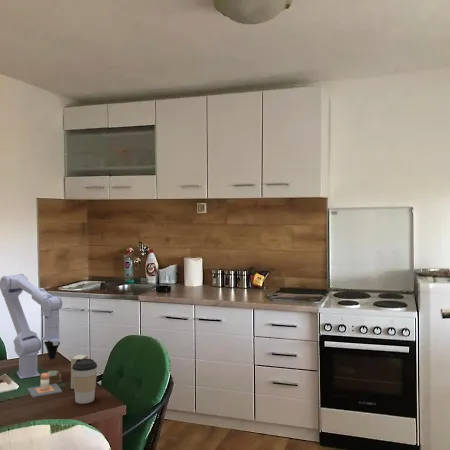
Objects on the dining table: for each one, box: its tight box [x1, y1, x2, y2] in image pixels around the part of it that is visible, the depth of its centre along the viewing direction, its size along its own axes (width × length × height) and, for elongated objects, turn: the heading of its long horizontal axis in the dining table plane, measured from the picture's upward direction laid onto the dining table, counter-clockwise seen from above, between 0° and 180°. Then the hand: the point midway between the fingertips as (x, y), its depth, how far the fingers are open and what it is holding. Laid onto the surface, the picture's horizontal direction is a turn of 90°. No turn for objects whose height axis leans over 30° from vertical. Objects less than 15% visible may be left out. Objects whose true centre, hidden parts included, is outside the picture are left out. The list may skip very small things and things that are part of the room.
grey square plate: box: [27, 383, 63, 399], centre depth 197 cm, size 10×11×1 cm
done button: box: [46, 370, 58, 376], centre depth 208 cm, size 4×4×3 cm
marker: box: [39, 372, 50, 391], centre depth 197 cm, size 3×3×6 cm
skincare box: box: [70, 354, 88, 390], centre depth 202 cm, size 6×4×12 cm
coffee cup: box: [72, 358, 98, 405], centre depth 188 cm, size 9×9×15 cm
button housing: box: [49, 370, 62, 384], centre depth 208 cm, size 6×6×3 cm
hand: (52, 358), depth 208 cm, fingers closed
